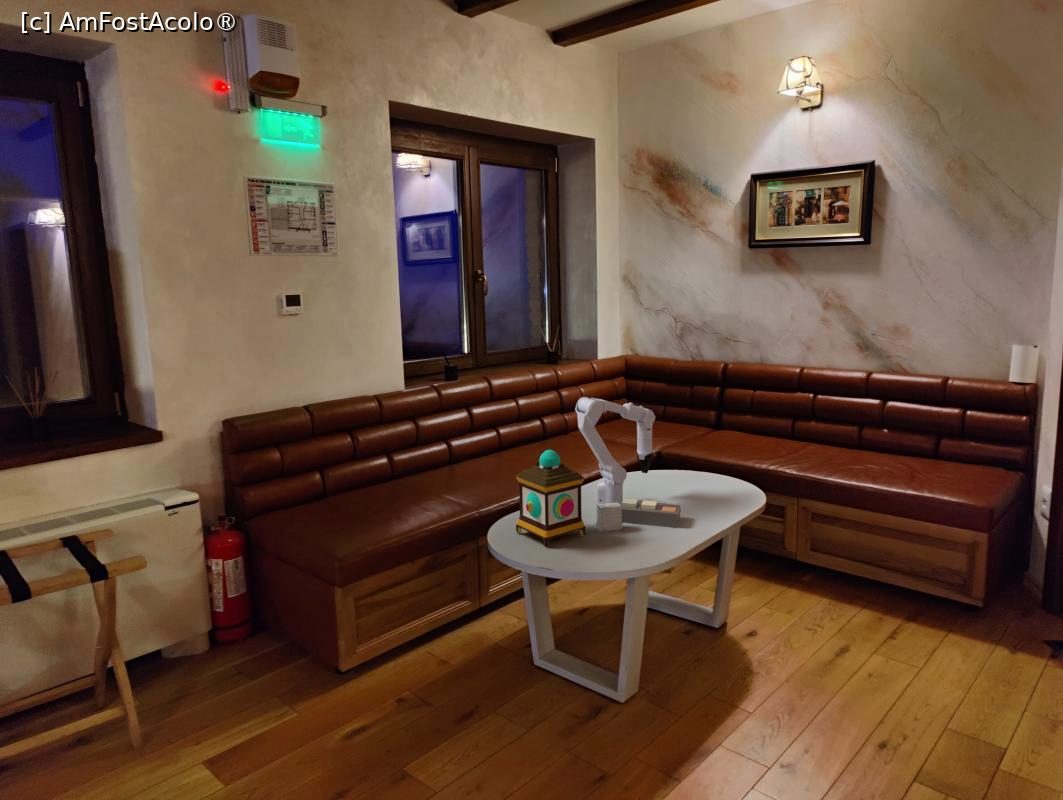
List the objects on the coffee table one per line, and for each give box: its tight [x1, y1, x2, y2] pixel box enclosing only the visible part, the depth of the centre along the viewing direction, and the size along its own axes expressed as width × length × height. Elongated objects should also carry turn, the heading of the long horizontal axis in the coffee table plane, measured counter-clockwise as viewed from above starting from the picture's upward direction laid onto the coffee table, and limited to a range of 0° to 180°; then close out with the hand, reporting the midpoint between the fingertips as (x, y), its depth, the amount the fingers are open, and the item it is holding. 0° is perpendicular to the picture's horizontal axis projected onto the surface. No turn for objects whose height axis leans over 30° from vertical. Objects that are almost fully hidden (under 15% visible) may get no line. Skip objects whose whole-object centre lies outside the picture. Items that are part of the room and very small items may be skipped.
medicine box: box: [596, 503, 623, 532], centre depth 255 cm, size 8×4×9 cm, turn 102°
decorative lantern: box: [515, 449, 587, 548], centre depth 249 cm, size 20×20×30 cm
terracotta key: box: [661, 506, 677, 512], centre depth 261 cm, size 5×5×3 cm
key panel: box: [620, 500, 682, 529], centre depth 263 cm, size 21×10×5 cm, turn 72°
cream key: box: [641, 499, 658, 510], centre depth 263 cm, size 5×5×3 cm
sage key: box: [622, 498, 639, 508], centre depth 265 cm, size 5×5×3 cm
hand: (645, 472), depth 286 cm, fingers closed
